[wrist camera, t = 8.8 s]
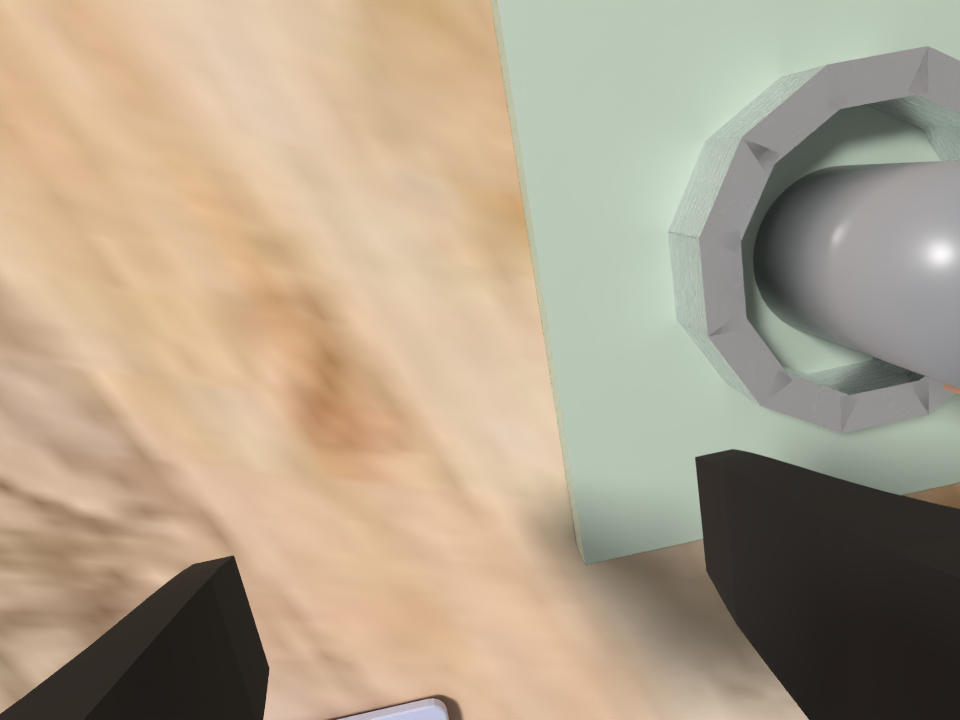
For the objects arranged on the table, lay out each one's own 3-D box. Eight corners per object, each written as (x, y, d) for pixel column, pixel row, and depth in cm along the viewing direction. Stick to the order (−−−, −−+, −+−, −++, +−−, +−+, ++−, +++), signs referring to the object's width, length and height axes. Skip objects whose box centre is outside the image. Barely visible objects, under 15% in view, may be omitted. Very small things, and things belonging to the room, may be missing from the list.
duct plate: (1060, 441, 22) (1090, 453, 21) (577, 547, 21) (585, 564, 20) (1091, -123, 18) (1130, -140, 17) (487, -20, 17) (492, -31, 16)
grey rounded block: (909, 149, 18) (1141, 134, 13) (914, 325, 20) (1128, 383, 14) (745, 184, 18) (906, 184, 12) (761, 358, 19) (914, 433, 14)
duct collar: (985, 368, 20) (1046, 389, 18) (688, 431, 20) (719, 459, 18) (993, 37, 18) (1064, 21, 16) (654, 99, 17) (685, 90, 15)
